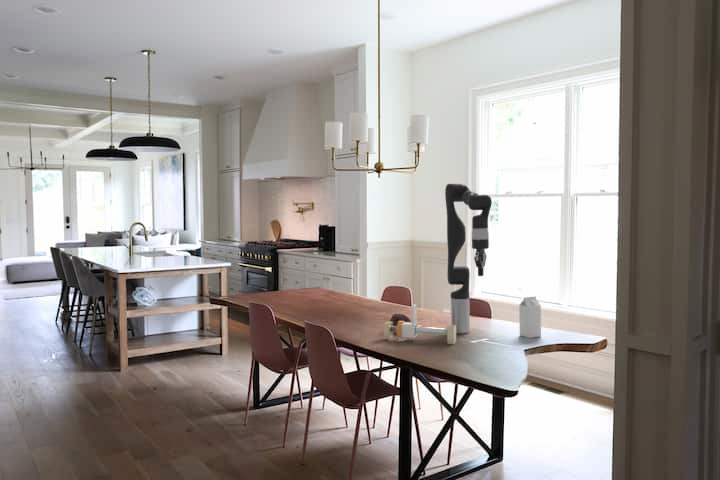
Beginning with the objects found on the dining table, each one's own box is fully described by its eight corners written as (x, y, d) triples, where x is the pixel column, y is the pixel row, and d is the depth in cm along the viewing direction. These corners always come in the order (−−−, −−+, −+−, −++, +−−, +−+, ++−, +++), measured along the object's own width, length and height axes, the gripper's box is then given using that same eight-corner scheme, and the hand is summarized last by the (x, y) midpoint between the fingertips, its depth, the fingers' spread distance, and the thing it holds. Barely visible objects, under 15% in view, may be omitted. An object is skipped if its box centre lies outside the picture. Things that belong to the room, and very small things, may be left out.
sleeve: (417, 335, 276) (417, 304, 275) (414, 337, 270) (413, 306, 270) (405, 334, 278) (405, 303, 277) (401, 337, 272) (401, 305, 272)
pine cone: (422, 332, 293) (418, 317, 287) (408, 343, 288) (404, 329, 283) (398, 318, 305) (394, 304, 300) (385, 329, 301) (380, 315, 296)
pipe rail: (457, 340, 270) (456, 324, 270) (453, 345, 262) (452, 327, 262) (388, 336, 283) (388, 320, 283) (382, 340, 275) (382, 324, 274)
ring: (406, 335, 279) (405, 319, 279) (401, 339, 272) (401, 322, 271) (401, 335, 280) (401, 319, 280) (396, 338, 273) (396, 322, 272)
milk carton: (519, 335, 279) (519, 296, 279) (531, 334, 282) (531, 295, 281) (528, 338, 273) (528, 298, 272) (541, 336, 275) (540, 297, 274)
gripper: (476, 237, 271) (476, 274, 272) (468, 239, 259) (468, 277, 260) (491, 237, 268) (492, 274, 269) (484, 239, 256) (485, 277, 257)
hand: (480, 275), depth 264 cm, fingers closed
